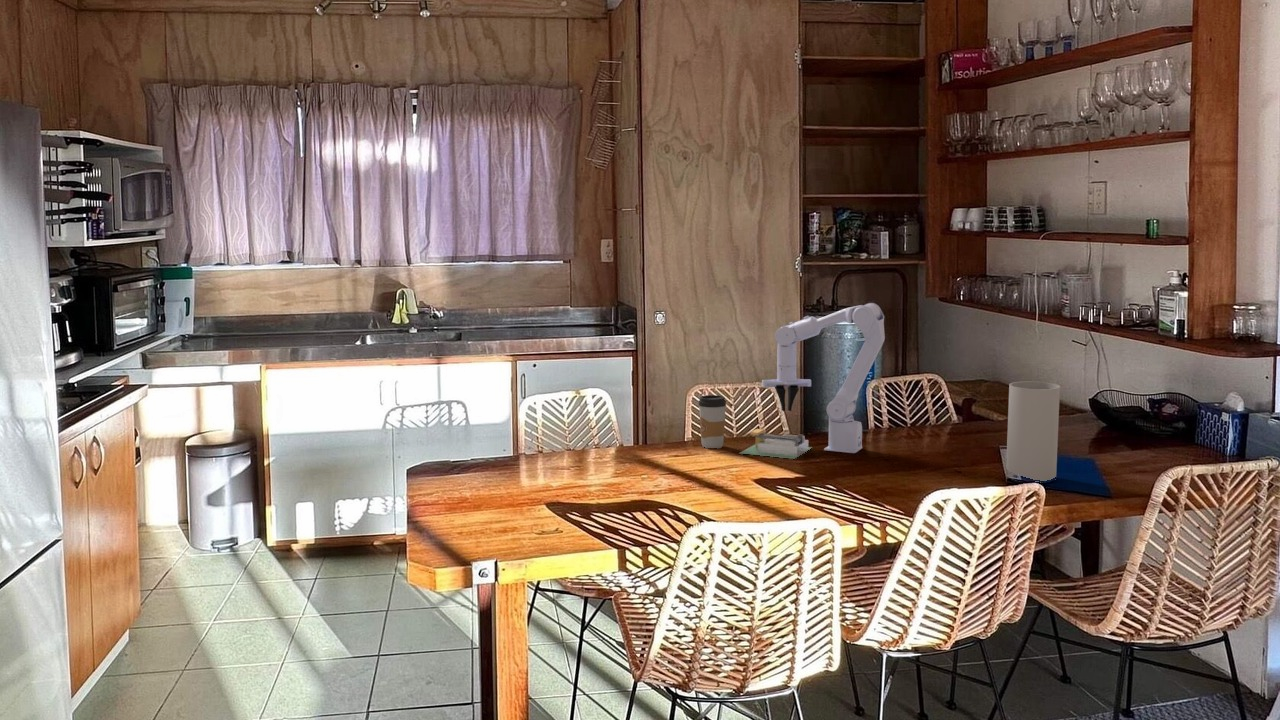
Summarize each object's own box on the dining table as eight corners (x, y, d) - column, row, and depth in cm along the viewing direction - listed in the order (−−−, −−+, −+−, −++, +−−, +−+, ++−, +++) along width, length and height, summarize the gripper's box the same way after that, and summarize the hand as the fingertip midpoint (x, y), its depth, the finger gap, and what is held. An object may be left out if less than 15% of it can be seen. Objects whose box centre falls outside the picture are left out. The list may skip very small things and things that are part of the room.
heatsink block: (808, 450, 341) (808, 433, 340) (796, 457, 332) (797, 440, 331) (769, 446, 346) (769, 429, 345) (757, 453, 337) (757, 436, 337)
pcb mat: (812, 448, 344) (812, 447, 344) (794, 459, 330) (794, 458, 330) (758, 443, 352) (758, 442, 352) (738, 454, 338) (739, 453, 338)
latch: (764, 447, 345) (764, 429, 344) (757, 451, 340) (758, 432, 339) (756, 446, 346) (757, 428, 345) (750, 450, 341) (750, 432, 340)
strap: (801, 441, 338) (801, 437, 337) (798, 443, 335) (798, 439, 335) (757, 435, 344) (757, 431, 343) (753, 437, 341) (754, 433, 341)
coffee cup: (693, 445, 350) (693, 396, 348) (717, 442, 354) (717, 394, 351) (706, 450, 343) (706, 400, 340) (731, 447, 346) (731, 398, 344)
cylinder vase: (1023, 486, 298) (1027, 390, 295) (996, 475, 310) (999, 382, 306) (1065, 482, 301) (1070, 387, 298) (1037, 471, 313) (1041, 380, 310)
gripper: (764, 368, 342) (764, 413, 344) (813, 367, 343) (813, 412, 345) (761, 364, 349) (760, 408, 351) (808, 363, 350) (808, 408, 352)
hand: (786, 410), depth 349 cm, fingers closed
